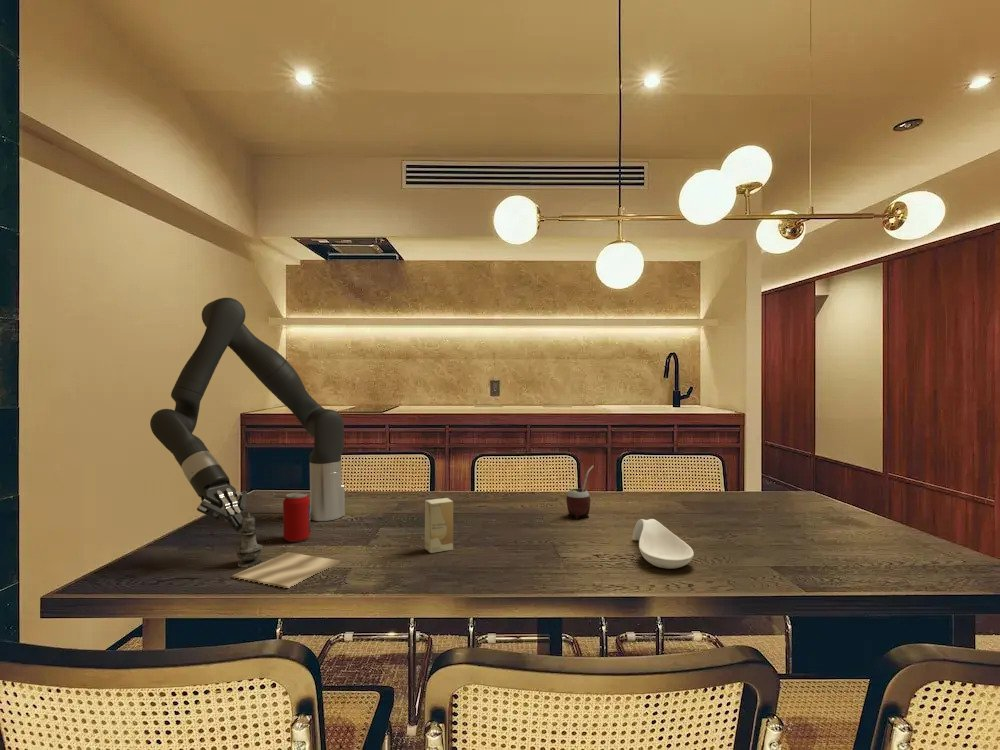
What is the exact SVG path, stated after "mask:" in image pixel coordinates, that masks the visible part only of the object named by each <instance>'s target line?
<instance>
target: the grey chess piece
mask: <svg viewBox="0 0 1000 750" xmlns="http://www.w3.org/2000/svg"><path fill="white" fill-rule="evenodd" d="M256 533H258V530H257V529H256V518H255V517H254V516H252V515H251V513H250V512H247V513H246V516H244V517H243V519H242V531H240V535H241V543H240V546H238V547H237V548H235V549H234V552H235V553H236V556H237V558H238V559H240V561H239V562H238V563H237V564H239V565H240V566H253V565H256V564H259V563H260V562H261V561H262V560H261V559H259V556H260V555H261V553H262V549H263V545H262V544H261V543H260V544H259V543H258V542H257V534H256ZM261 563H262V562H261ZM261 563H260V564H261ZM253 567H254V566H253Z"/></svg>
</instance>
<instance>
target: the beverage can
mask: <svg viewBox="0 0 1000 750" xmlns="http://www.w3.org/2000/svg"><path fill="white" fill-rule="evenodd" d="M310 511H311V510H310V497H309V495H308V493H307V492H304V491H303V492H292V493H288V494H285V498H284V500H283V502H282V512H283V517H282V518H283V519H282V520H283V521H282V522H283V523H282V524H283V539H284V540H286V541H287V542H288V543H299V542H304V541H306V540H307V539H308V538H310V537H311V514H310ZM303 540H304V541H303Z"/></svg>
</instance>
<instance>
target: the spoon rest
mask: <svg viewBox="0 0 1000 750" xmlns="http://www.w3.org/2000/svg"><path fill="white" fill-rule="evenodd" d="M632 540H633V541H638V549H639V551H640V553H641V555H642V558H643V559H644V560H646V562H648V563H649V564H651V565H652V566H655V567H656V568H661V569H666V570H667V569H668V570H670V569H671V570H673V569H678V568H682V567H684V566H686V565H688V564H689V563H690V562H692V561H691V560H693V558H694V555H695V553H694V550H693V548H692V547H691V546H690V545H689V544H687V542H685V541H684V540H682V538H680V537H678V536H677V535H676V534H674V533H673V532H672V531H671V530H669V529H668V528H667V527H666V526H664V525H663V524H662V523H661V522H659V521H658V520H656V519H655V518H649V519H643V518H640V519H638V521H637V522H636V524H635V525H634V528H633V531H632Z"/></svg>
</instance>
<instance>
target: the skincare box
mask: <svg viewBox="0 0 1000 750" xmlns="http://www.w3.org/2000/svg"><path fill="white" fill-rule="evenodd" d="M424 549H425V550H426V551H427V552H428V553H430V554H434V553H439V552H446V551H453V550H454V501H453V500H451V499H450V498H448V497H443V498H434V499H426V500H424Z"/></svg>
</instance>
